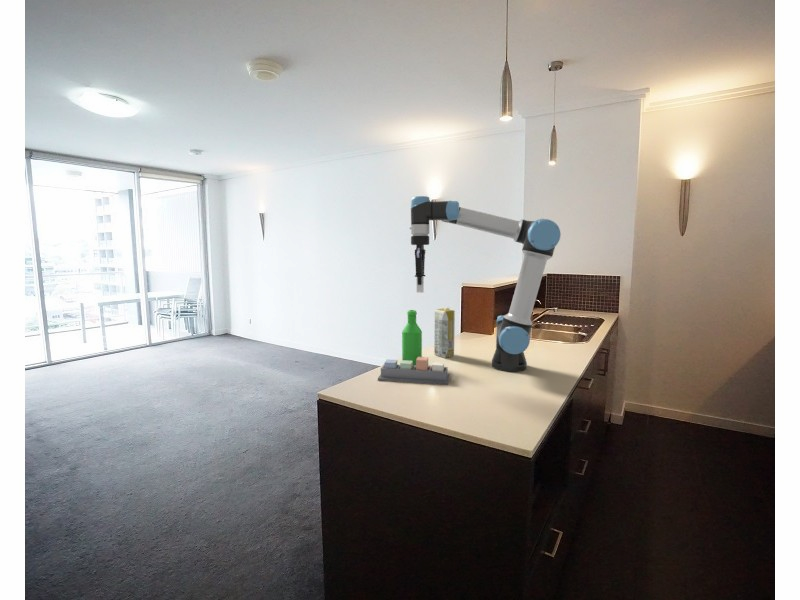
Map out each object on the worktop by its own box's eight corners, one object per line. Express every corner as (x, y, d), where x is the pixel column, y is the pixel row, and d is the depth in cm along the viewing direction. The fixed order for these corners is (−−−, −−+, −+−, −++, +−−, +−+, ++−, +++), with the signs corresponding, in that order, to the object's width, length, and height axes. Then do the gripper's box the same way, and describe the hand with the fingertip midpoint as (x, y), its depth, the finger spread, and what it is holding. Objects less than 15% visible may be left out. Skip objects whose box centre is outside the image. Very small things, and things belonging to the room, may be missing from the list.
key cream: (444, 374, 165) (444, 362, 165) (443, 377, 161) (443, 365, 160) (433, 373, 166) (433, 361, 166) (432, 377, 162) (432, 364, 161)
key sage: (412, 372, 168) (412, 360, 167) (410, 375, 164) (410, 363, 163) (402, 371, 169) (402, 360, 168) (400, 375, 164) (400, 363, 164)
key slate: (397, 371, 169) (397, 359, 168) (395, 374, 165) (395, 362, 164) (387, 370, 170) (386, 359, 169) (384, 374, 166) (384, 362, 165)
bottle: (420, 368, 179) (420, 312, 175) (400, 367, 181) (400, 312, 177) (422, 362, 187) (423, 309, 184) (404, 361, 189) (404, 308, 186)
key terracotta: (428, 369, 166) (428, 357, 166) (426, 372, 162) (426, 360, 161) (417, 368, 167) (417, 356, 167) (416, 371, 163) (416, 359, 162)
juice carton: (456, 356, 197) (457, 307, 194) (444, 359, 193) (444, 309, 190) (444, 352, 205) (444, 305, 202) (431, 354, 201) (432, 306, 197)
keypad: (449, 375, 168) (449, 365, 168) (447, 384, 158) (447, 373, 157) (384, 372, 174) (384, 362, 173) (377, 380, 163) (377, 370, 163)
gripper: (413, 235, 173) (413, 290, 177) (408, 235, 161) (408, 294, 164) (431, 235, 172) (430, 290, 175) (427, 234, 159) (426, 294, 163)
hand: (420, 292), depth 170 cm, fingers closed
